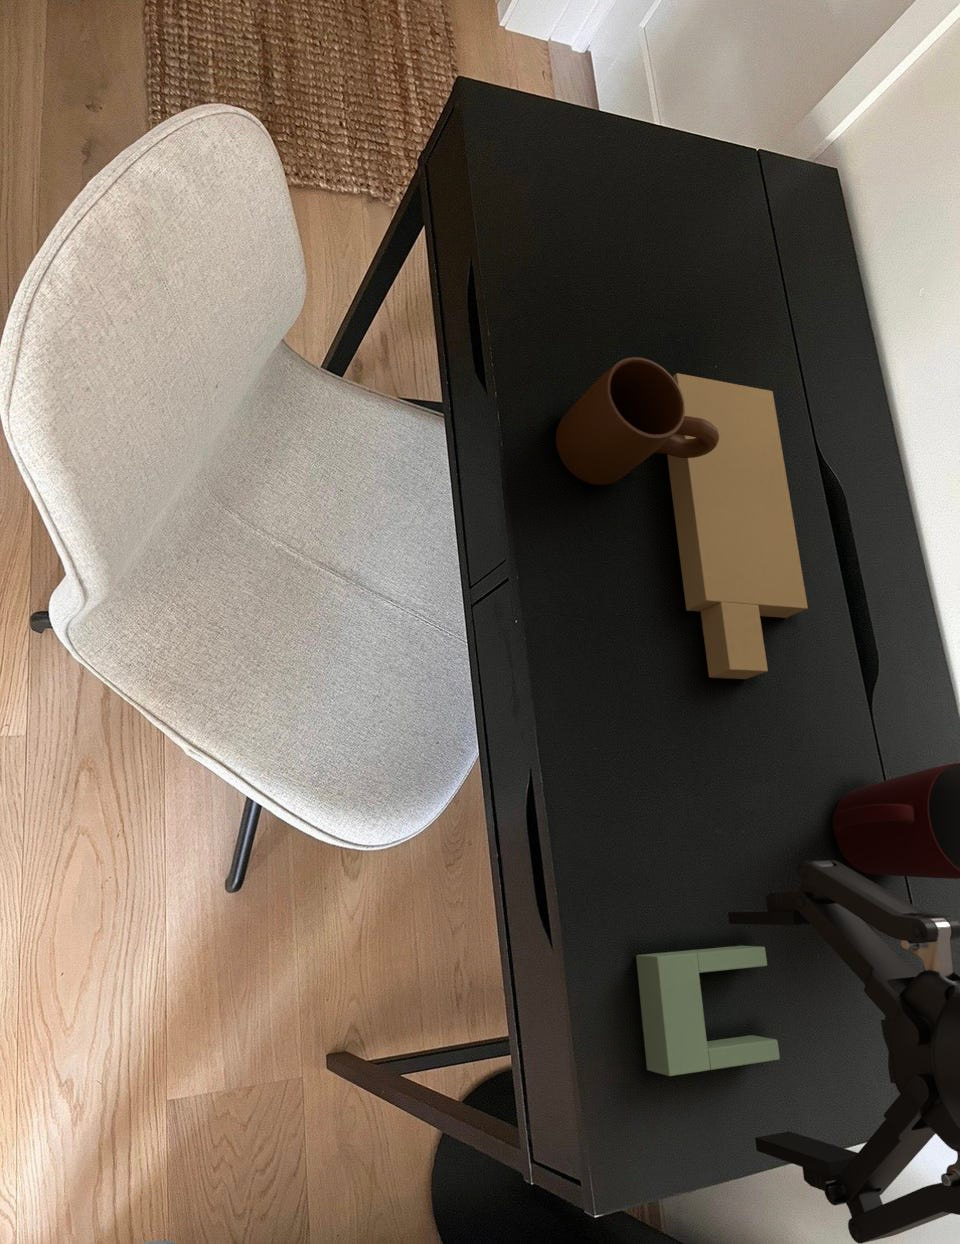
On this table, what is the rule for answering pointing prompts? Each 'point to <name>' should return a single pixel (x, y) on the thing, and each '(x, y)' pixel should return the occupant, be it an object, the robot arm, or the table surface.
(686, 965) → the green block
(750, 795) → the table surface
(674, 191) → the table surface
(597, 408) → the mug
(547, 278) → the table surface
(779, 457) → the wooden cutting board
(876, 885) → the robot arm
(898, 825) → the mug
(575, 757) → the table surface
